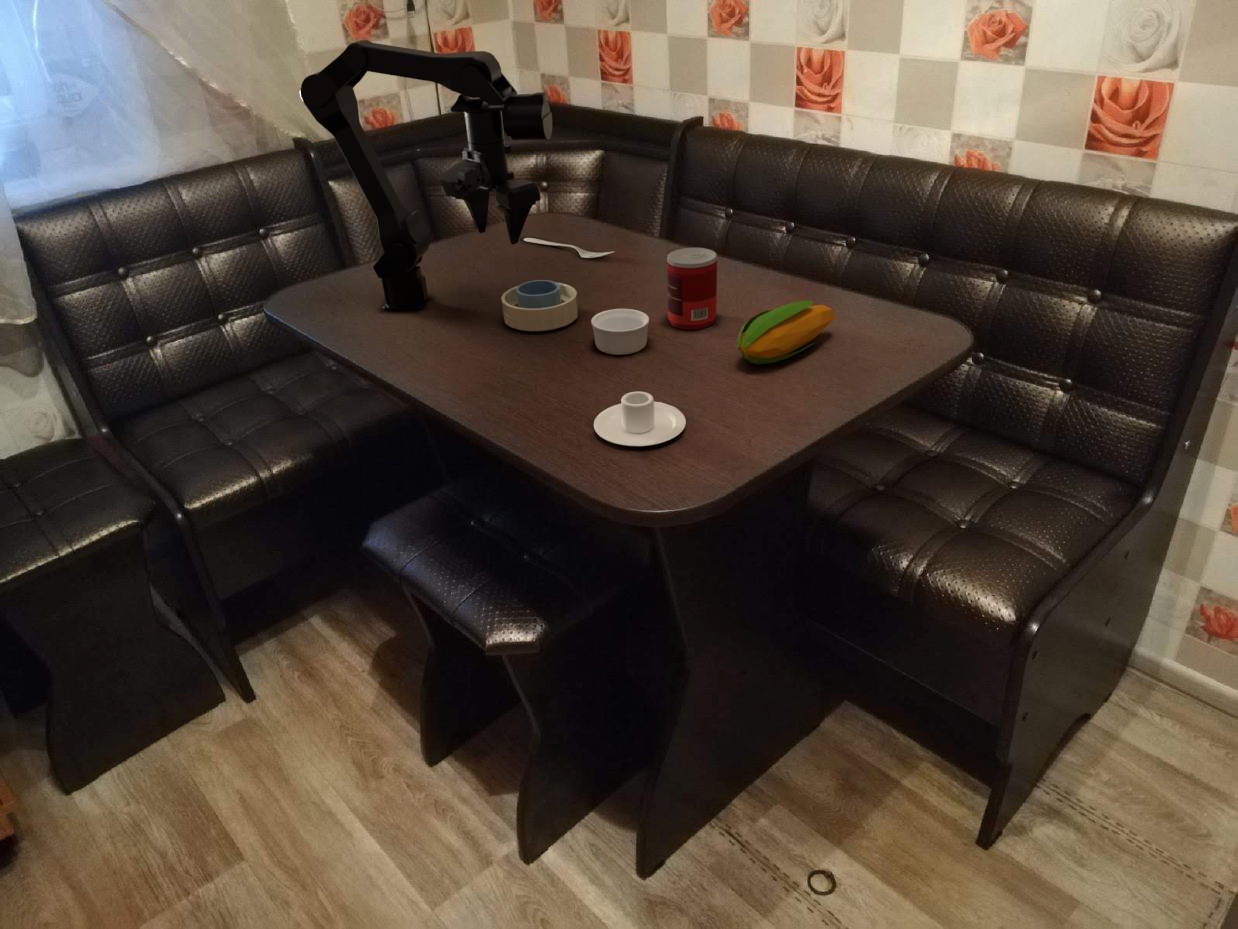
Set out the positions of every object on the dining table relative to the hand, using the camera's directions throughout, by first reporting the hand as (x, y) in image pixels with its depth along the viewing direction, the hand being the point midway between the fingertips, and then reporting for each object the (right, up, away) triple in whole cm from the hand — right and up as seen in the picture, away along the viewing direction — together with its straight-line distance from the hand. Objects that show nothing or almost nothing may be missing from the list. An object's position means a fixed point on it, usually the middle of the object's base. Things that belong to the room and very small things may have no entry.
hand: (497, 237), depth 153 cm
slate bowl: (+7, -13, 0) cm, 15 cm away
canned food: (+32, -14, -3) cm, 35 cm away
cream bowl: (+7, -13, +1) cm, 15 cm away
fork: (+10, +5, +30) cm, 32 cm away
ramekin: (+20, -19, -10) cm, 30 cm away
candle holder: (+23, -33, -32) cm, 51 cm away
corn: (+45, -21, -14) cm, 52 cm away
